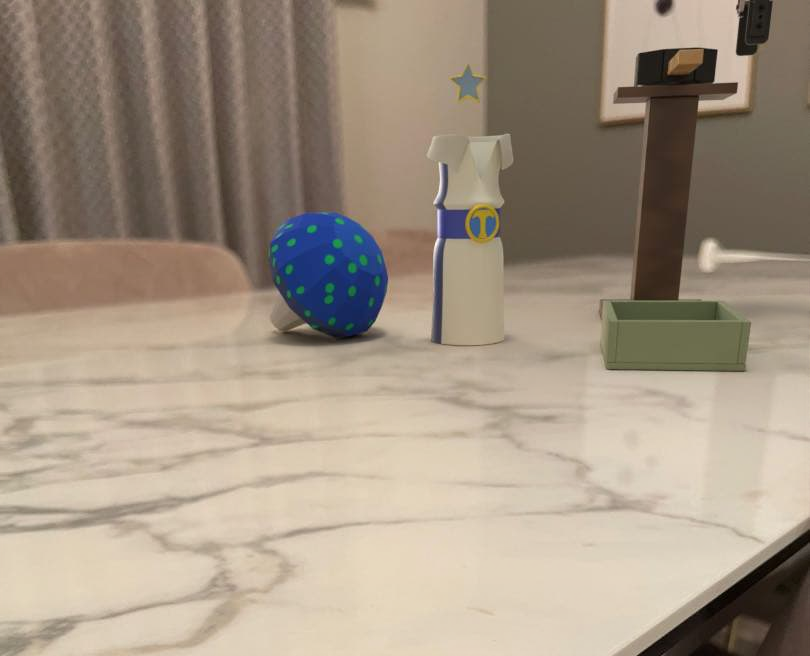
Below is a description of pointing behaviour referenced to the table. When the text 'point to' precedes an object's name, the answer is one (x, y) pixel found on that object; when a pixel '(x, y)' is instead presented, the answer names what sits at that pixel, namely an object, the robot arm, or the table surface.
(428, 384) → the table surface
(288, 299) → the mushroom
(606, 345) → the tray
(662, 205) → the stand
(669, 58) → the pan
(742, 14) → the robot arm
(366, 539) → the table surface
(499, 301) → the cream dress figure
